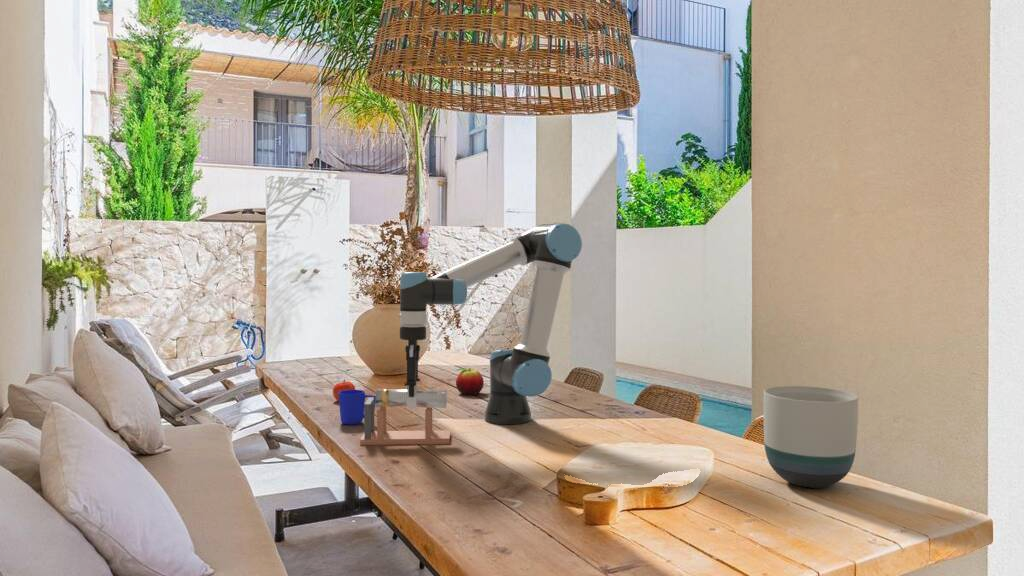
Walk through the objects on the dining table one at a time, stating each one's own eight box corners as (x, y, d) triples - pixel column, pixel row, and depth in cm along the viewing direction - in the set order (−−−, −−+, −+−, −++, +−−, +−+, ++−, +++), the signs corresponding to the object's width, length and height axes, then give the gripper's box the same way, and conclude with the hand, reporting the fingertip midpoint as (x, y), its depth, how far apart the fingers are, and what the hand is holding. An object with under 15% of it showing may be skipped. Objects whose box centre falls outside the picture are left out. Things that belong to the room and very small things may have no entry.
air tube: (446, 402, 216) (446, 387, 214) (445, 411, 211) (446, 395, 210) (377, 401, 215) (377, 385, 213) (375, 410, 210) (375, 394, 208)
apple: (360, 400, 271) (360, 378, 271) (344, 404, 264) (344, 382, 264) (344, 398, 275) (344, 376, 275) (328, 401, 268) (328, 379, 268)
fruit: (482, 396, 279) (482, 370, 279) (454, 396, 279) (454, 370, 279) (484, 391, 290) (484, 366, 290) (456, 391, 290) (456, 366, 290)
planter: (849, 504, 158) (851, 405, 157) (752, 488, 169) (754, 395, 168) (861, 480, 176) (863, 391, 175) (773, 467, 186) (774, 383, 185)
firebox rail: (450, 435, 218) (450, 396, 218) (449, 443, 209) (449, 403, 208) (364, 436, 217) (364, 397, 216) (360, 444, 207) (359, 404, 206)
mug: (370, 427, 228) (370, 395, 228) (334, 425, 231) (334, 393, 230) (380, 421, 236) (380, 390, 236) (345, 419, 239) (345, 389, 238)
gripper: (402, 322, 220) (401, 400, 221) (397, 328, 202) (396, 412, 203) (427, 323, 221) (426, 400, 221) (424, 328, 203) (423, 412, 204)
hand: (412, 405), depth 212 cm, fingers closed on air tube, 5 cm apart
